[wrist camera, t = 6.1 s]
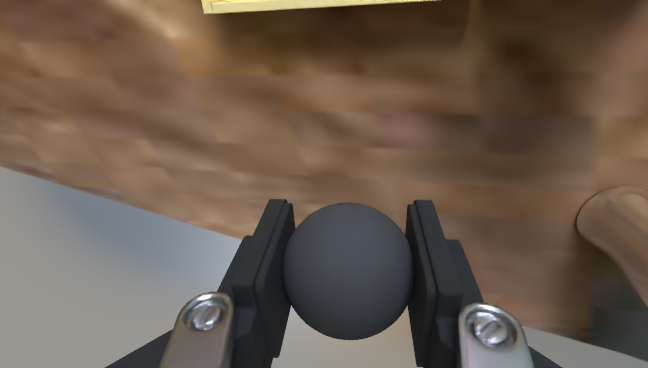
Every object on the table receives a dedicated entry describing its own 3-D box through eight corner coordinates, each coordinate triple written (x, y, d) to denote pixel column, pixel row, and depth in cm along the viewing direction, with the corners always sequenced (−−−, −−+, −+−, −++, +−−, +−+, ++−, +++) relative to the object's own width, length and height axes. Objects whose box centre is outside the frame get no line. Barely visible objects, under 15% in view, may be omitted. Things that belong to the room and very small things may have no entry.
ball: (340, 157, 11) (330, 235, 7) (431, 224, 11) (461, 322, 8) (274, 232, 12) (239, 324, 9) (357, 285, 13) (355, 387, 10)
